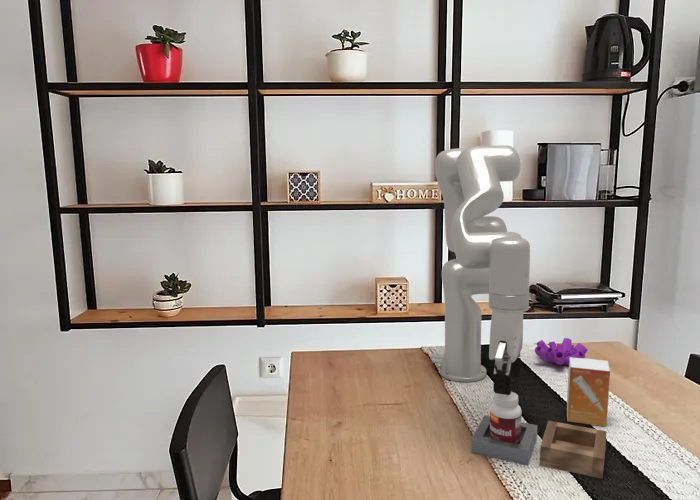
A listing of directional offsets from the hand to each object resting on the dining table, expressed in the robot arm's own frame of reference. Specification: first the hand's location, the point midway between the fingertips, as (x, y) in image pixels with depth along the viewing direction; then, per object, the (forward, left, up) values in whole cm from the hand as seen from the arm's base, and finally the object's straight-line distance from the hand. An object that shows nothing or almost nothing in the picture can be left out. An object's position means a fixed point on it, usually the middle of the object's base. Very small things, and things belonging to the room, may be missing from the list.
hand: (507, 384), depth 111 cm
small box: (+14, +20, -14) cm, 28 cm away
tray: (+13, +2, -14) cm, 19 cm away
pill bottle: (0, +1, -14) cm, 14 cm away
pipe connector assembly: (+5, +51, -14) cm, 53 cm away
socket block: (0, +1, -14) cm, 14 cm away
